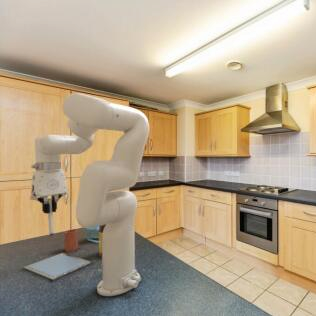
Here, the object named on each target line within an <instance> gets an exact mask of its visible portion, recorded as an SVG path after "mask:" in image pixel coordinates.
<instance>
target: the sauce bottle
mask: <svg viewBox="0 0 316 316" xmlns="http://www.w3.org/2000/svg"><path fill="white" fill-rule="evenodd" d="M105 225H106V224H105ZM105 225H102V226H99V230H98V237H99V238H98V241H99V243H98V256H99V257H101V258H102V234H103V230H104V228H105Z"/></svg>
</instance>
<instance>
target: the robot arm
mask: <svg viewBox="0 0 316 316" xmlns="http://www.w3.org/2000/svg"><path fill="white" fill-rule="evenodd" d="M62 112H63V114H64V116H66V117H67V118H68V120H67V127H68V129H69V131H70V132H71V133H72V134H73V135H66V134H45V135H42V136H41V135H40V136H37V137H36V138H35V139H34V148H35V149H34V151H35V154H34V155H35V156H34V157H35V163H34V164H31V165H30V168H31V169H34V170H35V171H33V173H32V177H31V185H30V191H31V192H30V193H31V194H30V197H29V200H30V201H37V202H38V203H40V204H41V207H42V208H41V210H42V212H43V214H47V215H48V213H50V204H49V203H48V199H49V198H48V197H50V198H52V212H53V213H56V212H57V210H58V202H59V200H60V199H61V198H63V197H64V196H66V195H68V193H67V191H68V184H67V179H66V174H65V171H64V169H62V161H61V157H62V156H61V155H80V154H83V153H85V152H86V151H88V150H89V149H90V148H92V147H93V145H94V142H95V138H96V137H95V136H96V135H95V133H96V132H97V131H99V130H106V131H114V132H123V133H124V134H122V135H121V136H120V137H119V138H118V140H117V141H116V142H115V144H114V147H113V153H112V157H111V159H108V160H107V159H105V160H95V161H92V162H91V163H88V164H87V165H86V166H85V168H84V169H83V171H82V173H81V177H80V183H79V187H78V194H77V200H76V206H75V217H76V221H77V223H78V225H79V226H80V227H82V228H84V229H86V228H95V227H98V226H102V225H105V224H106V225H105V228H104V230H103V234H102V257H101V259H102V260H101V261H102V264H101V265H102V267H101V269H102V280H100V281H99V283H98V284H97V286H96V291H97V294H98V295H100V296H102V297H113V296H119V295H122V294H124V293H127V292H129V291H131V290H133V289H136V288H138V286H139V283H140V282H141V281H142V277H141V275H140V273H139V272H138V270H137V269H136V245H135V244H136V239H135V237H136V235H135V229H136V228H135V225H136V215H137V211H138V206H139V205H138V199H137V196H136V194H134V193H133V192H132V191H130V190H126V189H129V188H132V187H134V186H135V185H136V184H137V182H138V180H139V176H140V171H141V170H140V169H141V165H142V161H143V154H144V150H145V146H146V144H147V142H148V138H149V135H150V127H151V126H150V122H149V119H148V117H147V116H146V115H145V113H143V112H142V111H141V110H139V109H137V108H134V107H131V106H128V105H125V104H119V103H115V102H111V101H108V100H105V99H104V98H100V97H98V96H97V97H96V96H92V95H88V94H85V93H80V92H73V93H70V94H69V95H67V96H66V97H65V98H64V100H63V102H62Z"/></svg>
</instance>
